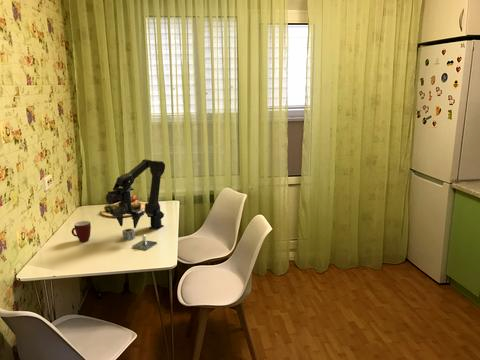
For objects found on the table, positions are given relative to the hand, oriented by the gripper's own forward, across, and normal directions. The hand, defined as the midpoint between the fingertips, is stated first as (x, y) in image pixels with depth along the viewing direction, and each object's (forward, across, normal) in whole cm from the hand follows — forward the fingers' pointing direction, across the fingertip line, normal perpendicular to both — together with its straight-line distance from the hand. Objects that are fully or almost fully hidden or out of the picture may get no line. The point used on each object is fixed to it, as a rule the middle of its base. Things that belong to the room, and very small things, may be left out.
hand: (128, 227), depth 215 cm
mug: (+6, -22, -12) cm, 26 cm away
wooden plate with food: (+7, -36, +41) cm, 55 cm away
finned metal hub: (+6, +15, -6) cm, 17 cm away
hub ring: (+6, 0, 0) cm, 6 cm away
